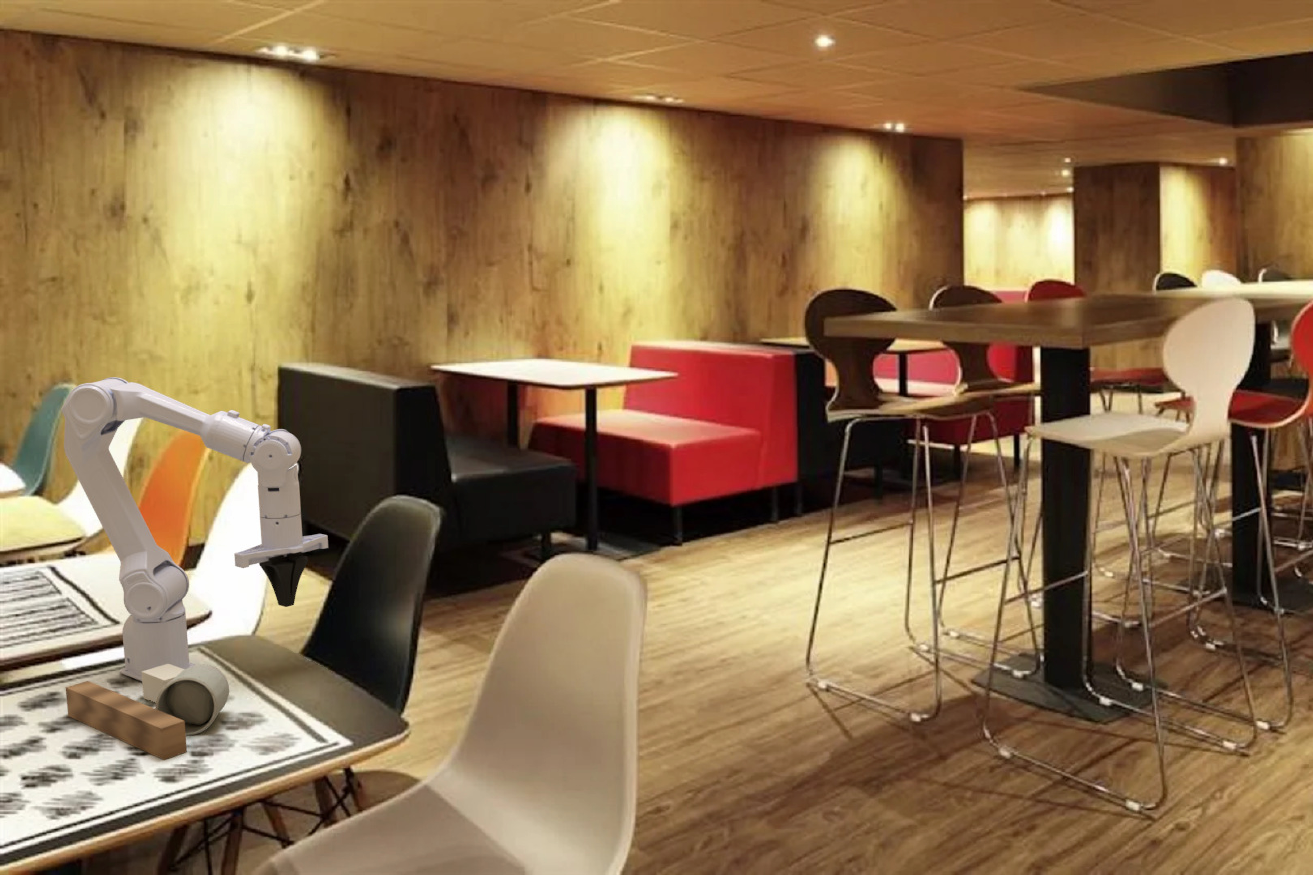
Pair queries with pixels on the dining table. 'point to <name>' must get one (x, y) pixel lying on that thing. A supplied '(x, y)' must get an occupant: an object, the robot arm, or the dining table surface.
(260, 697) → the dining table surface
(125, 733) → the walnut rail
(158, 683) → the beige rectangular block
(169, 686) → the ceramic mug
